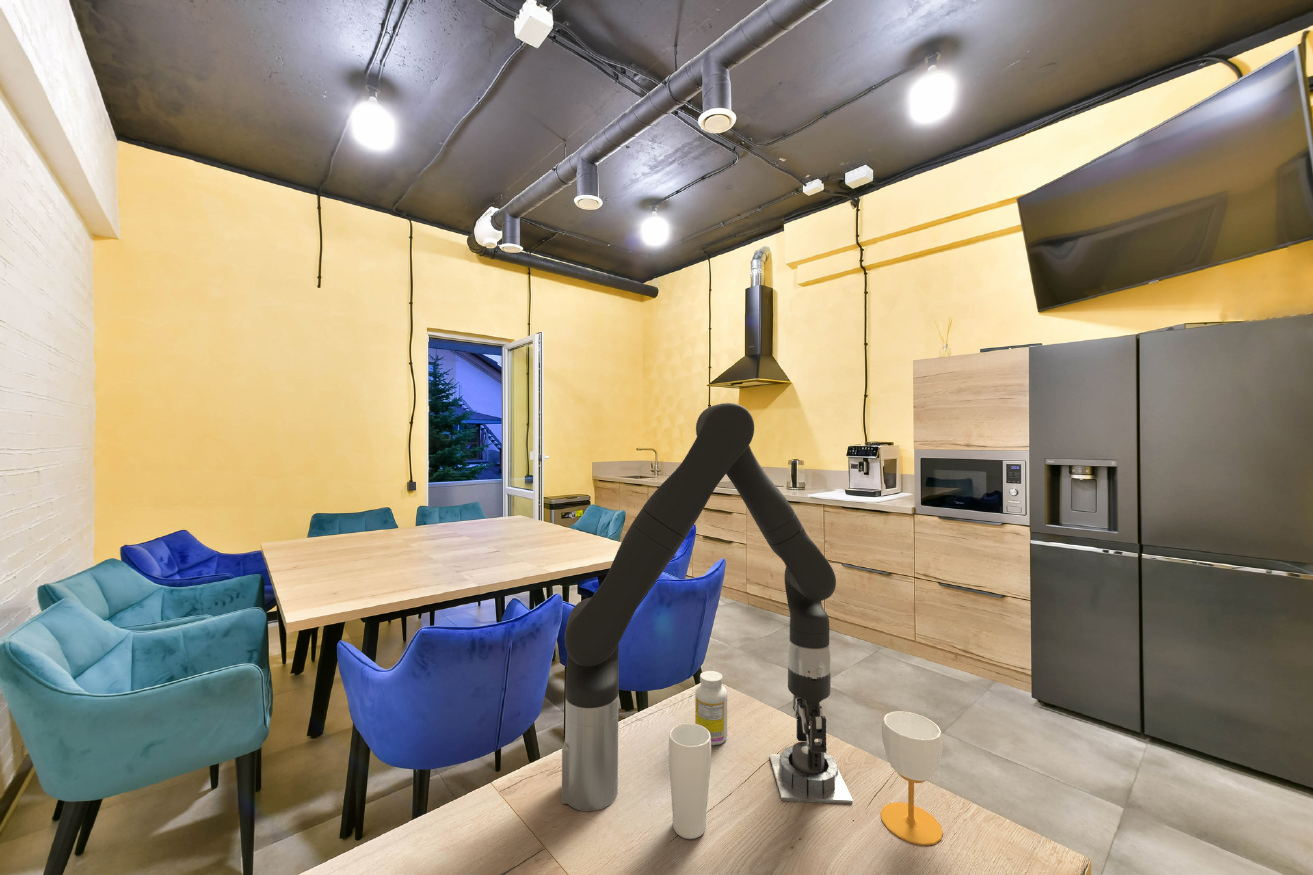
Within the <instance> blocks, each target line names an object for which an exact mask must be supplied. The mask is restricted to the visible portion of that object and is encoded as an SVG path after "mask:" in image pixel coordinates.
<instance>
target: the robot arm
mask: <svg viewBox="0 0 1313 875" xmlns="http://www.w3.org/2000/svg"><path fill="white" fill-rule="evenodd" d="M695 434H696V438H695V440H694V441H693V443H692V445H691V447H690V449H689V450H688V452H687V454H686V456H685V457H684V459H683V460H682V461H681V463H680V464H679V465H678V467H677V468H676V469H675V470H674V471H673V472H672V473H671V475H669V476H668V477H667V478H666V480H664V481H663V482H662V483H661V485H660V486H659V487H658V488H657V489H655V491H654V492H653V493H652V494H651V496H649V498H648V499H647V501H646V502H645V503H644V505H643V506H642V508H641V509H640V511H639V512H638V514H637V515H636V516H635V518H634V520H633V521H632V523H631V525H630V526H629V528H628V530H627V532H626V533H625V536H624V537H623V538H622V541H621V543H620V545H619V547H618V549H617V552H616V555H615V556H614V558H613V561H612V564H611V566H610V568H609V570H608V572H607V574H606V576H605V578H604V580H603V581H602V582H601V584H600V585H599V587H598V588H597V589H596V591H595V592H594V593H593V595H592V596H591V597H587V598H584V599H583V600H582V599H581V600H580V601H579V602H577V604H576V605H575V606H574V607H573V608H572V609H571V611H570V613H569V615H568V619H567V622H566V627H565V630H564V646H565V650H566V653H567V655H566V673H565V684H564V685H565V693H564V694H565V724H564V725H565V728H564V730H565V732H564V733H565V734H564V736H565V737H564V740H563V741H564V742H563V745H562V747H561V804H563V805H565V804H566V805H568V806H570V807H572V809H575V810H578V811H583V812H595V811H599V810H602V809H604V808H606V807H607V806H610V805H611V804H612V803H613V802H614V801H615V799H616V798H617V795H618V787H619V785H618V784H619V776H618V775H619V687H620V685H619V683H620V682H619V680H620V679H619V678H620V677H619V676H620V674H619V670H620V667H619V665H620V663H619V654H620V653H619V648H620V645H619V644H620V642H621V640H622V638H623V636H624V634H625V632H626V630H627V628H628V626H629V624H630V622H631V621H632V619H633V617H634V615H635V613H636V611H637V610H638V607H639V606H640V604H641V603H642V601H643V600H644V598H645V597H646V595H647V594H648V593H649V592H650V590H651V588H652V587H653V586H654V585H655V584H656V582H657V580H659V578H660V576H661V575H662V573H663V572H664V571H665V569H666V568H667V567H668V565H669V563H670V562H671V561H672V559H673V558H674V557H675V555H676V553H677V552H678V551H679V549H680V547H681V546H682V544H683V543H684V541H685V540H686V538H687V536H688V535H689V534H690V533H691V530H692V528H693V527H694V524H696V522H697V520H698V518H699V517H700V515H701V514H702V512H703V510H704V508H705V507H706V505H707V503H708V501H709V499H710V498H711V496H712V495H713V492H714V491H715V490H716V488H717V486H718V485H719V484H720V482H721V481H722V480H723V478H725V476H727V477H728V480H730V482H731V483H732V484H733V487H734V488H735V489H736V491H737V492H738V494H739V496H740V497H741V499H742V501H743V503H744V504H745V506H746V508H747V509H748V512H749V513H750V515H751V517H752V518H753V521H754V522H755V524H756V526H757V527H758V529H759V531H760V532H761V534H762V536H763V538H764V539H765V541H766V543H767V544H768V546H769V547H770V549H771V551H772V552H774V553H775V554H776V555H777V557H779V558H780V559H781V561H782V562H783V563H784V564H785V568H784V587H785V589H784V590H785V595H786V600H787V606H788V610H789V642H788V648H787V649H788V650H787V688H788V691H789V692H790V693H791V694H792V695H793V700H792V702H793V704H792V709H793V712H795V713H794V718H795V720H796V740H797V742H807V747H808V768H809V770H811V771H820V770H821V753H827V718H826V716H825V715H824V712H823V707H822V705H820V703H821V702H822V701H824V700H826V699H827V698H829V697H830V695H831V679H832V677H831V674H832V672H831V668H832V667H831V666H832V665H831V663H832V661H831V660H832V658H831V649H830V618H829V614H828V613H827V611H826V610H825V609H824V607H823V604H822V602H823V601H826V600H827V599H829V598H831V596H833V594H834V592H835V590H836V585H837V578H836V575H835V572H834V569H833V568H832V565H831V564H830V562H829V561H828V559H827V558H826V557H825V555H824V554H823V553H822V551H821V550H820V549H819V548H818V546H817V545H816V544H815V542H814V541H813V540H812V539H811V538H810V536H809V535H808V534H807V532H806V530H805V528H804V526H803V524H802V522H801V520H800V519H799V517H798V515H797V514H796V512H795V511H794V509H793V507H792V505H791V503H789V501H788V499H787V498H786V497H785V495H784V494H783V492H782V491H780V489H779V488H778V487H777V486H776V484H775V483H774V482H773V480H772V479H771V478H770V477H769V476H768V474H767V473H766V472H765V470H764V469H763V467H762V466H761V465H760V463H759V461H758V460H757V458H756V456H755V454H754V452H753V451H752V449H751V448H752V447H751V446H750V444H751V442H752V441H753V437H754V434H755V422H754V418H753V416H752V414H751V413H750V411H749V410H748V409H747V407H745V406H743V405H741V404H738V403H732V402H725V403H719V404H715V405H711V406H709V407H707V408H706V409H704V410H703V411H702V412H701V413H700V414H699V416H698V418H697V421H696V424H695ZM816 740H817V741H816Z"/></svg>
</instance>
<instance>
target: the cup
mask: <svg viewBox="0 0 1313 875" xmlns="http://www.w3.org/2000/svg"><path fill="white" fill-rule="evenodd" d="M882 720H883V721H882V725H881V736H882V737H881V738H882V744H883V747H884V751H885V755H886V758H887V760H888V762H889V764H890V765H889V766H891V768H892V769H893V770H894V772H895V773H897V774H898V776H899V777H900V778H901V779H903V780H905V781H906V782H908V789H907V790H908V794H907V800H908V801H907V803H906V802H902V801H901V802H900V801H899V802H890V803H888V804H886V805H883V807H882V809H881V811H880V813H879V814H880V818H881V822H882V824H884V826H885V827H886V829H887V830H889V831H890V832H891V833H892V834H893V835H895V836H896V837H897V838H898V839H901V840H903V841H905V842H908V843H910V844H915V845H918V846H934V845H936V844H937V843H939V842H940V841H942V837H943V835H944V831H943V829H942V826H941V823H940V822H939V821H938V820H937V819H936V818H935V817H934V815H932V814H930V813H929V812H928V811H926V810H925V809H923V808H921V807H919V806H916V805H915V784H923V782H927V781H929V780H930V779H932V778H933V777H934V776H935V774H936V773H937V771H938V768H939V765H940V762H941V759H942V756H943V748H944V747H943V746H944V742H943V735H942V731H941V729H940V727H939V725H937V724H936V723H935V722H934V721H933V720H931V719H929V718H927V717H925V716H923V715H921V714H919V713H918V714H917V713H914V712H910V711H902V710H900V711H890V712H888V713H886V714H885V715H884V716H883V719H882Z"/></svg>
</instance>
